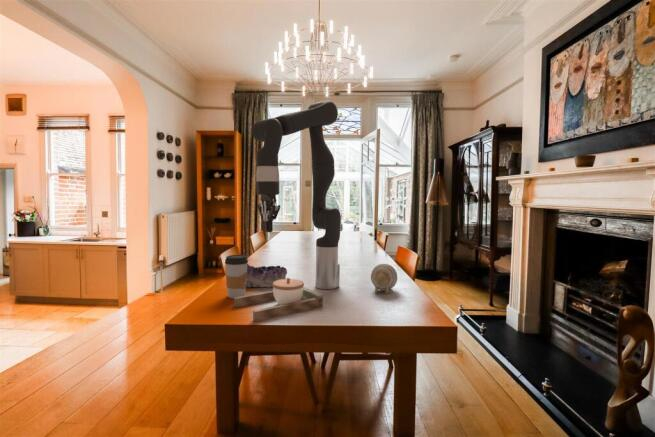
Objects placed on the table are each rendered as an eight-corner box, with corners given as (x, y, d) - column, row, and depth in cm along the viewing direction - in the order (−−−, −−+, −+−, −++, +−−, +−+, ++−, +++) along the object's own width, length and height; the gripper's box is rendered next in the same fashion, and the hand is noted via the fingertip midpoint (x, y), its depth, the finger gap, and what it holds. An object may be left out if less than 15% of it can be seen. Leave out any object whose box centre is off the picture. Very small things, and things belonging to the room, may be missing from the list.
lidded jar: (279, 311, 108) (279, 283, 107) (268, 302, 117) (268, 276, 117) (308, 306, 113) (309, 279, 112) (296, 298, 122) (296, 273, 122)
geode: (236, 290, 131) (236, 265, 132) (239, 286, 143) (238, 263, 143) (288, 287, 135) (287, 262, 136) (286, 283, 146) (285, 260, 147)
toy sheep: (367, 295, 128) (368, 266, 127) (373, 284, 144) (374, 259, 143) (395, 297, 125) (396, 268, 124) (398, 286, 141) (399, 260, 140)
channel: (297, 294, 127) (297, 284, 127) (322, 306, 114) (323, 294, 113) (234, 306, 112) (234, 294, 112) (255, 321, 99) (255, 308, 99)
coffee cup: (241, 300, 119) (241, 259, 118) (220, 298, 121) (220, 257, 120) (251, 293, 127) (251, 255, 126) (231, 292, 129) (231, 254, 128)
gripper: (287, 180, 107) (288, 233, 109) (268, 181, 118) (269, 229, 119) (266, 179, 103) (267, 235, 104) (249, 180, 113) (250, 230, 115)
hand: (268, 231), depth 112 cm, fingers closed
